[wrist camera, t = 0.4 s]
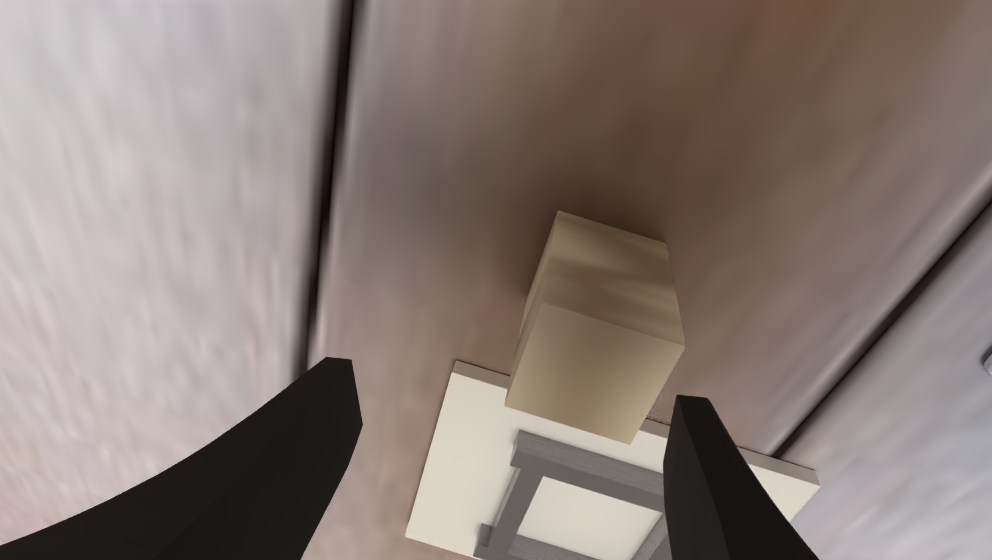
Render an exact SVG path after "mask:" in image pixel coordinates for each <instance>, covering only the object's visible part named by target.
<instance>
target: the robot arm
mask: <svg viewBox="0 0 992 560" xmlns="http://www.w3.org/2000/svg"><path fill="white" fill-rule="evenodd" d="M984 369H985V371H986V372H987V373H988V374H989V375H990V377H992V355H991V356H990V357H989V358H988V359H987V360H986V361H985V363H984ZM362 426H363V423H362V417H361V412H360V406H359V400H358V394H357V389H356V383H355V377H354V371H353V365H352V360H350V359H341V358H332V357H326V358H324V359H323V360H322V361H320V362H319V363H318V364H316V365H315V366H314V367H312V368H311V369H310V370H309V371H307V372H306V373H305V374H303V375H302V376H301V377H300V378H298V379H297V380H296V381H294V382H293V383H292V384H291V385H289V386H288V387H287V388H286V389H284V390H283V391H282V392H280V393H279V394H278V395H276V396H275V397H274V398H272V399H271V400H270V401H268V402H267V403H266V404H265V405H263V406H262V407H261V408H259V409H258V410H257V411H255V412H254V413H253V414H251V415H250V416H248V417H247V418H245V419H244V420H243V421H241V422H240V423H238V424H237V425H235V426H234V427H233V428H231V429H230V430H228V431H227V432H225V433H224V434H222V435H221V436H220V437H218V438H217V439H215V440H214V441H212V442H211V443H209V444H208V445H206V446H205V447H203V448H202V449H200V450H198V451H197V452H195V453H194V454H192V455H190V456H189V457H187V458H185V459H184V460H182V461H180V462H179V463H177V464H175V465H173V466H172V467H170V468H168V469H167V470H165V471H163V472H161V473H160V474H158V475H156V476H154V477H152V478H150V479H148V480H146V481H144V482H142V483H141V484H139V485H137V486H135V487H133V488H131V489H129V490H127V491H125V492H123V493H121V494H119V495H117V496H115V497H113V498H112V499H110V500H107V501H105V502H103V503H101V504H99V505H97V506H95V507H93V508H90V509H88V510H86V511H84V512H82V513H80V514H77V515H75V516H73V517H70V518H68V519H66V520H63V521H61V522H59V523H56V524H54V525H52V526H49V527H47V528H45V529H42V530H40V531H37V532H35V533H32V534H30V535H27V536H24V537H22V538H19V539H16V540H14V541H11V542H9V543H6V544H3V545H1V546H0V560H301V558H302V556H303V553H304V552H305V550H306V548H307V546H308V544H309V542H310V540H311V538H312V536H313V534H314V532H315V530H316V528H317V526H318V524H319V522H320V520H321V518H322V517H323V515H324V513H325V511H326V509H327V507H328V505H329V503H330V501H331V499H332V497H333V495H334V493H335V491H336V489H337V487H338V485H339V483H340V481H341V479H342V477H343V475H344V473H345V471H346V469H347V467H348V465H349V462H350V460H351V457H352V454H353V452H354V449H355V446H356V443H357V440H358V438H359V435H360V432H361V429H362ZM663 485H664V508H665V515H666V522H667V529H668V536H669V542H670V549H671V555H672V560H819V559H818V557H817V556H816V555H815V554H814V553H813V552H812V550H811V549H810V548H809V547H808V546H807V544H806V543H805V542H804V541H803V539H802V538H801V537H800V536H799V534H798V533H797V532H796V531H795V529H794V528H793V527H792V526H791V524H790V523H789V522H788V520H787V519H786V518H785V516H784V515H783V514H782V512H781V511H780V510H779V508H778V507H777V506H776V504H775V503H774V502H773V500H772V499H771V497H770V496H769V495H768V493H767V492H766V490H765V489H764V488H763V486H762V485H761V483H760V482H759V480H758V479H757V477H756V476H755V474H754V473H753V471H752V470H751V468H750V467H749V465H748V464H747V462H746V461H745V459H744V458H743V456H742V455H741V453H740V451H739V450H738V448H737V447H736V445H735V443H734V442H733V440H732V438H731V437H730V435H729V433H728V432H727V430H726V428H725V427H724V425H723V423H722V421H721V420H720V418H719V416H718V414H717V412H716V411H715V409H714V407H713V405H712V403H711V402H710V401H709V400H708V398H704V397H694V396H685V395H677V396H676V401H675V406H674V411H673V415H672V420H671V425H670V430H669V435H668V440H667V444H666V449H665V454H664V459H663Z"/></svg>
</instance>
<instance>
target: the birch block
mask: <svg viewBox="0 0 992 560" xmlns="http://www.w3.org/2000/svg"><path fill="white" fill-rule="evenodd" d="M685 348H686V344H685V339H684V334H683V328H682V323H681V318H680V313H679V307H678V302H677V297H676V292H675V286H674V281H673V276H672V271H671V265H670V260H669V255H668V250H667V244H666V243H663V242H660V241H657V240H654V239H650V238H647V237H644V236H641V235H637V234H634V233H631V232H628V231H624V230H621V229H618V228H615V227H611V226H608V225H605V224H602V223H598V222H595V221H592V220H589V219H585V218H582V217H579V216H576V215H572V214H569V213H566V212H563V211H559V210H558V212H557V214H556V217H555V220H554V223H553V226H552V229H551V232H550V234H549V237H548V240H547V243H546V246H545V249H544V252H543V254H542V257H541V260H540V263H539V266H538V269H537V272H536V275H535V277H534V280H533V283H532V286H531V289H530V292H529V295H528V297H527V301H526V306H525V310H524V315H523V319H522V324H521V329H520V333H519V338H518V343H517V347H516V352H515V357H514V361H513V366H512V371H511V375H510V380H509V385H508V389H507V394H506V399H505V403H504V406H505V407H509V408H512V409H515V410H518V411H522V412H525V413H528V414H531V415H535V416H538V417H541V418H544V419H547V420H551V421H554V422H557V423H560V424H564V425H567V426H570V427H573V428H577V429H580V430H583V431H586V432H590V433H593V434H596V435H599V436H602V437H606V438H609V439H612V440H615V441H619V442H622V443H625V444H628V445H630V444H631V443H632V441H633V439H634V437H635V436H636V434H637V432H638V430H639V429H640V427H641V425H642V423H643V421H644V420H645V418H646V416H647V414H648V413H649V411H650V409H651V407H652V406H653V404H654V402H655V400H656V399H657V397H658V395H659V393H660V392H661V390H662V388H663V386H664V384H665V383H666V381H667V379H668V377H669V376H670V374H671V372H672V370H673V369H674V367H675V365H676V363H677V362H678V360H679V358H680V356H681V355H682V353H683V351H684V349H685Z"/></svg>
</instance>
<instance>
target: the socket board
mask: <svg viewBox="0 0 992 560" xmlns="http://www.w3.org/2000/svg"><path fill="white" fill-rule="evenodd" d="M509 380H510V377H509V376H506V375H503V374H499V373H496V372H493V371H490V370H486V369H483V368H480V367H477V366H474V365H470V364H467V363H464V362H461V361H457V360H456V362H455V365H454V368H453V370H452V373H451V377H450V380H449V384H448V387H447V391H446V394H445V398H444V401H443V405H442V408H441V412H440V415H439V419H438V422H437V426H436V429H435V433H434V437H433V440H432V444H431V447H430V451H429V454H428V458H427V461H426V465H425V468H424V472H423V475H422V479H421V482H420V486H419V489H418V493H417V496H416V500H415V503H414V507H413V510H412V514H411V517H410V521H409V524H408V528H407V531H406V535H405V537H408V538H411V539H414V540H418V541H421V542H424V543H427V544H431V545H434V546H437V547H440V548H443V549H447V550H450V551H453V552H456V553H460V554H463V555H466V556H469V557H472V558H476V559H479V560H672V555H671V549H670V542H669V536H668V529H667V522H666V515H665V508H664V485H663V459H664V454H665V449H666V444H667V440H668V435H669V430H670V426H668V425H665V424H661V423H658V422H655V421H652V420H648V419H645V420H644V421H643V423H642V425H641V427H640V429H639V430H638V432H637V434H636V436H635V437H634V439H633V441H632V443H631V444H630V445H628V444H625V443H622V442H619V441H615V440H612V439H609V438H606V437H602V436H599V435H596V434H593V433H590V432H586V431H583V430H580V429H577V428H573V427H570V426H567V425H564V424H560V423H557V422H554V421H551V420H547V419H544V418H541V417H538V416H535V415H531V414H528V413H525V412H522V411H518V410H515V409H512V408H509V407H505V406H504V403H505V399H506V394H507V389H508V385H509ZM737 448H738V450H739V451H740V453H741V455H742V456H743V458H744V459H745V461H746V462H747V464H748V465H749V467H750V468H751V470H752V471H753V473H754V474H755V476H756V477H757V479H758V480H759V482H760V483H761V485H762V486H763V488H764V489H765V490H766V492H767V493H768V495H769V496H770V497H771V499H772V500H773V502H774V503H775V504H776V506H777V507H778V508H779V510H780V511H781V512H782V514H783V515H784V516H785V518H786V519H787V520H788V522H789V521H790V520H791V519H792V518H793V517H794V516H795V515H796V513H797V512H798V511H799V510H800V509H801V508H802V507H803V506H804V504H805V503H806V502H807V501H808V500H809V499H810V498H811V497H812V496H813V494H814V493H815V492H816V491H817V490H818V489H819V488H820V487H821V485H820V483H819V480H818V478H817V475H816V472H815V471H814V470H810V469H807V468H804V467H801V466H797V465H794V464H791V463H788V462H784V461H781V460H778V459H775V458H772V457H768V456H765V455H762V454H759V453H755V452H752V451H749V450H746V449H742V448H739V447H737Z"/></svg>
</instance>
